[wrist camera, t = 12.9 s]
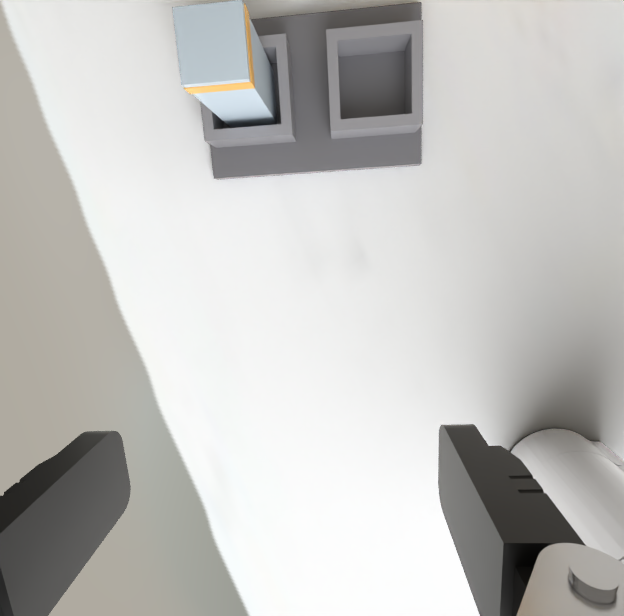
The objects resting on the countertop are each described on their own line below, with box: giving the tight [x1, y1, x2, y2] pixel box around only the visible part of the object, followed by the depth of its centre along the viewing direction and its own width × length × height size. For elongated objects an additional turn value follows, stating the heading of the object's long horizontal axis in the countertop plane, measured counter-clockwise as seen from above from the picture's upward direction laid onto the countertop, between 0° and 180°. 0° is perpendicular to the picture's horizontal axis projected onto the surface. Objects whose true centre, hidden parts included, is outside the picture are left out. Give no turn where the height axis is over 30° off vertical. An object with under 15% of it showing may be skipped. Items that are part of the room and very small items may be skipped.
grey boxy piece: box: [200, 2, 423, 180], centre depth 32 cm, size 18×12×4 cm, turn 94°
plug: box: [172, 0, 277, 128], centre depth 28 cm, size 4×4×11 cm
